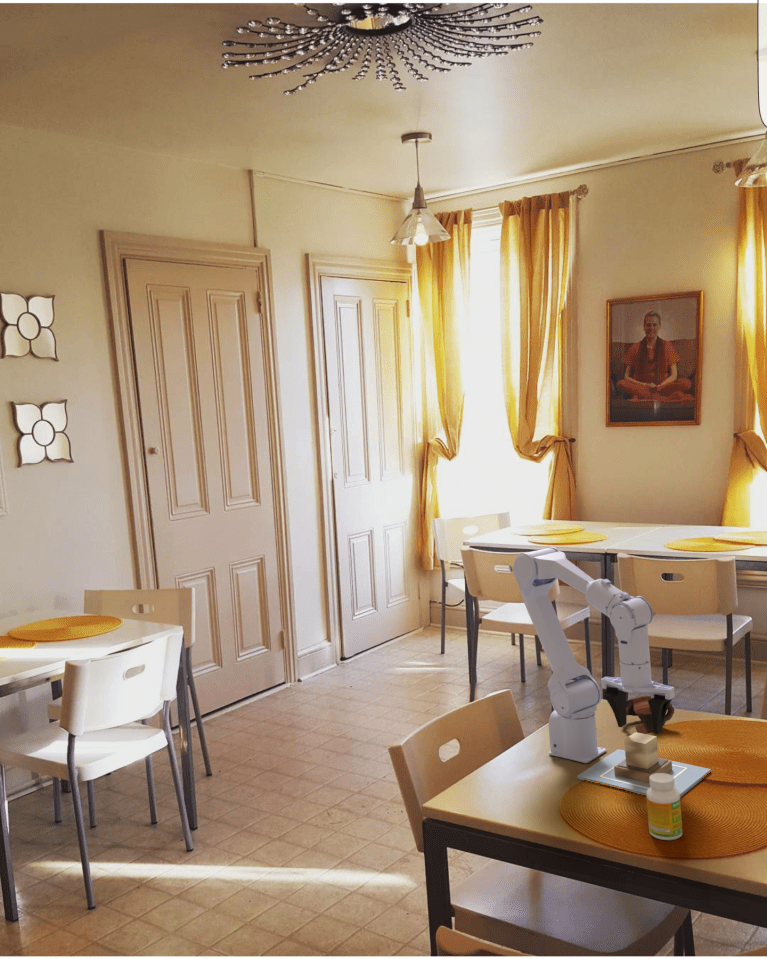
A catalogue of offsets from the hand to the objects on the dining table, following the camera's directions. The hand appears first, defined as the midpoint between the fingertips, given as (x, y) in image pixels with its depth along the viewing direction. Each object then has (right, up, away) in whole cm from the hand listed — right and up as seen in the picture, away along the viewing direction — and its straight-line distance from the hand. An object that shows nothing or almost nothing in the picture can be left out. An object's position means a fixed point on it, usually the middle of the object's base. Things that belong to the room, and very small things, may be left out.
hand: (640, 729), depth 169 cm
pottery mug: (+9, -7, +25) cm, 28 cm away
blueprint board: (+1, -9, +1) cm, 9 cm away
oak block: (+1, -7, 0) cm, 7 cm away
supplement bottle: (-2, -11, -23) cm, 25 cm away
